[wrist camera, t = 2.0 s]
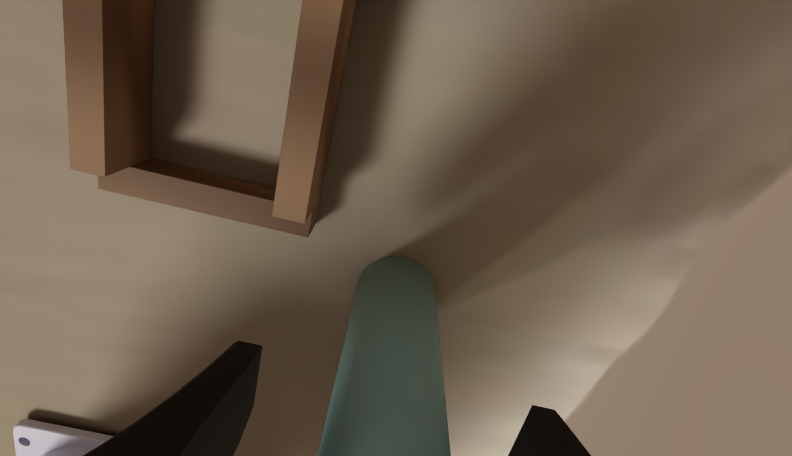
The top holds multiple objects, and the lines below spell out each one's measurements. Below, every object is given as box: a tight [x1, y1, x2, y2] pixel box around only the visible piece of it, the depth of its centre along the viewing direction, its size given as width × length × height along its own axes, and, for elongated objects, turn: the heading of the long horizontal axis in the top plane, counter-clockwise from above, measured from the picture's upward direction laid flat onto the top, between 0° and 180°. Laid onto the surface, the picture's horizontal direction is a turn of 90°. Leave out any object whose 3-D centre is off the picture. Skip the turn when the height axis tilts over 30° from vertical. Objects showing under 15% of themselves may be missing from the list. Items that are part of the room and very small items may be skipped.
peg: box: [318, 257, 451, 456], centre depth 13 cm, size 3×3×8 cm
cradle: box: [63, 0, 356, 237], centre depth 11 cm, size 12×12×5 cm
